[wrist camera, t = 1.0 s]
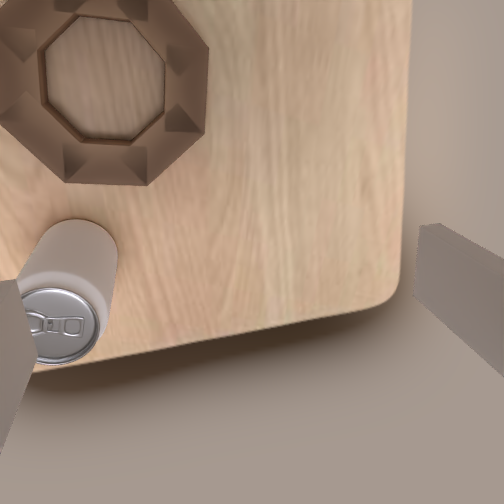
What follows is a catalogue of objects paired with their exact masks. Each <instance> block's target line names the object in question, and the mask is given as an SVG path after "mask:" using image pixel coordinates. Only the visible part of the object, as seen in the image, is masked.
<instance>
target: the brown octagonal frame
mask: <svg viewBox="0 0 504 504" xmlns="http://www.w3.org/2000/svg"><path fill="white" fill-rule="evenodd" d="M79 16H82V17H91V18H99V19H108V20H117V21H125V22H131V23H132V24H133V25H134V27H135V28H136V29H137V30H138V31H139V33H140V34H141V35H142V36H143V37H144V38H145V40H146V41H147V42H148V43H149V44H150V46H151V47H152V48H153V49H154V50H155V51H156V53H157V54H158V55H159V56H160V57H161V59H162V60H163V61H164V62H165V80H164V111H163V112H162V113H161V114H160V115H159V116H158V117H157V118H155V119H154V120H153V121H152V122H151V123H150V124H149V125H148V126H147V127H146V128H145V129H144V130H142V131H141V132H140V133H139V134H138V135H137V136H136V137H135V138H134V139H133V140H132V141H128V140H111V139H95V138H84V137H83V136H82V135H81V134H80V133H79V132H78V131H77V130H76V129H75V128H74V127H73V126H72V125H71V124H70V123H69V122H68V121H67V120H66V119H65V118H64V117H63V116H62V115H61V114H60V113H59V112H58V111H57V110H56V109H55V108H54V107H53V106H52V105H51V104H50V103H49V102H48V93H47V79H46V66H45V52H44V51H45V50H46V49H47V48H48V47H49V46H50V45H51V44H52V43H53V42H54V41H55V40H56V39H57V38H58V37H59V36H60V35H61V34H62V33H63V32H64V31H65V30H66V29H67V28H68V27H69V26H70V25H71V24H72V23H73V22H74V21H75V20H76V19H77V18H78V17H79ZM208 57H209V48H208V46H207V45H206V44H205V43H204V41H203V40H202V39H201V37H200V36H199V35H198V34H197V32H196V31H195V30H194V29H193V27H192V26H191V25H190V23H189V22H188V21H187V20H186V18H185V17H184V16H183V15H182V13H181V12H180V11H179V9H178V8H177V7H176V6H175V4H174V3H173V2H172V1H171V0H8V1H7V2H6V3H5V4H4V5H3V6H2V7H1V8H0V125H1V126H3V127H4V128H5V129H6V130H7V131H8V132H9V133H10V134H11V135H12V136H14V137H15V138H16V139H17V140H18V141H19V142H20V143H21V144H22V145H24V146H25V147H26V148H27V149H28V150H29V151H30V152H31V153H32V154H33V155H35V156H36V157H37V158H38V159H39V160H40V161H41V162H42V163H43V164H44V165H46V166H47V167H48V168H49V169H50V170H51V171H52V172H53V173H54V174H56V175H57V176H58V177H59V178H60V179H61V180H62V181H63V182H64V183H81V184H107V185H133V186H148V185H149V184H150V183H151V182H152V181H153V180H154V179H155V178H157V177H158V176H159V175H160V174H161V173H162V172H163V171H164V170H165V169H166V168H168V167H169V166H170V165H171V164H172V163H173V162H174V161H175V160H176V159H177V158H179V157H180V156H181V155H182V154H183V153H184V152H185V151H186V150H187V149H188V148H190V147H191V146H192V145H193V144H194V143H195V142H196V141H197V140H198V139H199V138H201V137H202V136H203V135H204V133H205V114H206V95H207V76H208Z"/></svg>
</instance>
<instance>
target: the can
mask: <svg viewBox="0 0 504 504" xmlns="http://www.w3.org/2000/svg"><path fill="white" fill-rule="evenodd" d="M117 262H118V251H117V247H116V244H115V242H114V240H113V238H112V237H111V236H110V234H109V233H108V232H107V231H106V230H105V229H103V228H102V227H100V226H99V225H97V224H95V223H92V222H90V221H86V220H79V219H72V220H66V221H62V222H59V223H57V224H55V225H53V226H52V227H50V228H49V229H48V230H47V231H46V232H45V233H44V235H43V236H42V237H41V239H40V240H39V242H38V243H37V245H36V247H35V248H34V250H33V252H32V253H31V255H30V256H29V258H28V260H27V261H26V263H25V265H24V266H23V268H22V270H21V271H20V273H19V275H18V276H17V278H16V281H17V285H18V288H19V292H20V295H21V298H22V302H23V305H24V309H25V312H26V315H27V319H28V322H29V326H30V329H31V332H32V336H33V339H34V343H35V346H36V349H37V353H38V358H37V360H36V363H38V364H42V365H63V364H68V363H71V362H74V361H76V360H78V359H80V358H82V357H83V356H85V355H86V354H87V353H88V352H89V351H90V350H91V349H92V348H93V347H94V345H95V344H96V342H97V341H98V340H99V338H100V337H101V336H102V334H103V333H104V331H105V328H106V326H107V323H108V318H109V313H110V308H111V302H112V295H113V289H114V283H115V276H116V270H117Z"/></svg>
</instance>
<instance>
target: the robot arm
mask: <svg viewBox="0 0 504 504" xmlns="http://www.w3.org/2000/svg"><path fill="white" fill-rule="evenodd" d="M413 296H414V297H415V298H416V299H417V300H418V301H419V302H420V303H421V304H423V305H424V306H425V307H426V308H427V309H428V310H429V311H431V312H432V313H433V314H434V315H435V316H436V317H437V318H438V319H439V320H440V321H442V322H443V323H444V324H445V325H446V326H447V327H448V328H449V329H450V330H452V331H453V332H454V333H455V334H456V335H457V336H458V337H459V338H460V339H462V340H463V341H464V342H465V343H466V344H467V345H468V346H469V347H470V348H472V349H473V350H474V351H475V352H476V353H477V354H478V355H479V356H480V357H482V358H483V359H484V360H485V361H486V362H487V363H488V364H489V365H491V366H492V367H493V368H494V369H495V370H496V371H497V372H498V373H499V374H501V375H502V376H503V377H504V259H503V258H501V257H499V256H497V255H495V254H494V253H492V252H490V251H488V250H487V249H485V248H483V247H481V246H479V245H478V244H476V243H474V242H472V241H471V240H469V239H467V238H465V237H464V236H462V235H460V234H458V233H456V232H455V231H453V230H451V229H449V228H447V227H446V226H444V225H442V224H440V223H437V224H430V225H422V226H420V227H419V237H418V248H417V258H416V269H415V279H414V290H413ZM37 358H38V353H37V349H36V346H35V343H34V339H33V336H32V332H31V329H30V326H29V322H28V319H27V315H26V312H25V309H24V305H23V302H22V298H21V295H20V292H19V288H18V285H17V281H16V279H14V280H6V281H0V454H1V451H2V449H3V446H4V443H5V441H6V438H7V436H8V433H9V430H10V427H11V425H12V423H13V420H14V417H15V415H16V412H17V410H18V407H19V404H20V402H21V399H22V397H23V394H24V391H25V389H26V386H27V384H28V381H29V378H30V376H31V373H32V371H33V368H34V365H35V363H36V360H37Z"/></svg>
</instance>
